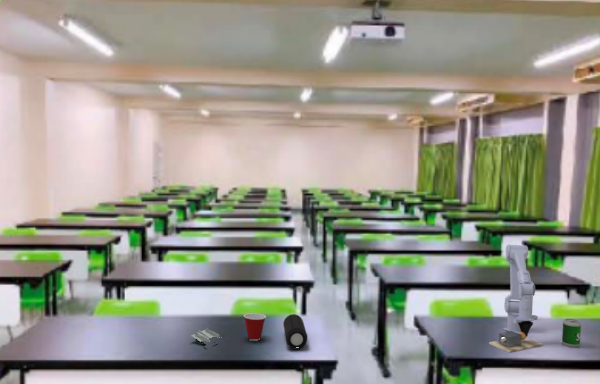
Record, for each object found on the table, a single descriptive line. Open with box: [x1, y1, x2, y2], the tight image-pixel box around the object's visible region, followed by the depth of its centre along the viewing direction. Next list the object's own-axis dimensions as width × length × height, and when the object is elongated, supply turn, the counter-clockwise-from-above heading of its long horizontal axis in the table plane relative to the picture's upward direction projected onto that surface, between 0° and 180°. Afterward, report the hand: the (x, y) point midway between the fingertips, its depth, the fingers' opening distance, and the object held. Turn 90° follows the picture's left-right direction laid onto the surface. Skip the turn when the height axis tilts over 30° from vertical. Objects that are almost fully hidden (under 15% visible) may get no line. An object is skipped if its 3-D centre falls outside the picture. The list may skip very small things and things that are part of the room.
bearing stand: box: [488, 331, 544, 353], centre depth 244 cm, size 22×12×6 cm, turn 116°
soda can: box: [561, 318, 582, 349], centre depth 244 cm, size 8×8×12 cm
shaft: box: [500, 332, 527, 342], centre depth 243 cm, size 14×4×4 cm, turn 116°
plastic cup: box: [243, 312, 267, 339], centre depth 245 cm, size 11×11×12 cm
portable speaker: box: [283, 313, 308, 349], centre depth 244 cm, size 26×10×10 cm, turn 5°
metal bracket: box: [191, 327, 220, 343], centre depth 242 cm, size 14×6×15 cm
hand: (524, 336), depth 246 cm, fingers closed
